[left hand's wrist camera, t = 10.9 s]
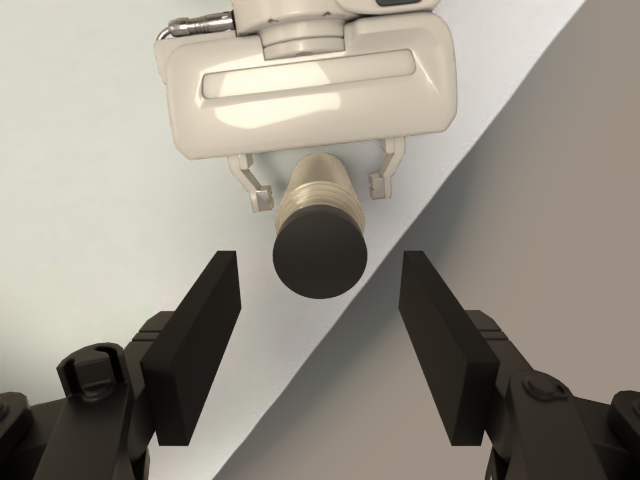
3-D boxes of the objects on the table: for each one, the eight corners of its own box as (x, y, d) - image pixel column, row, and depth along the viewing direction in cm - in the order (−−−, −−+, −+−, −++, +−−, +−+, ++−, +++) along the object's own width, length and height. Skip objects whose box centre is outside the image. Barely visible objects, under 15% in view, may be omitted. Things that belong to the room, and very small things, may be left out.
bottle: (322, 219, 35) (325, 321, 18) (280, 183, 34) (242, 259, 17) (360, 178, 33) (398, 249, 17) (317, 139, 32) (314, 176, 16)
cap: (323, 299, 19) (324, 314, 18) (258, 250, 18) (253, 262, 17) (381, 242, 18) (387, 253, 17) (315, 185, 17) (314, 192, 15)
